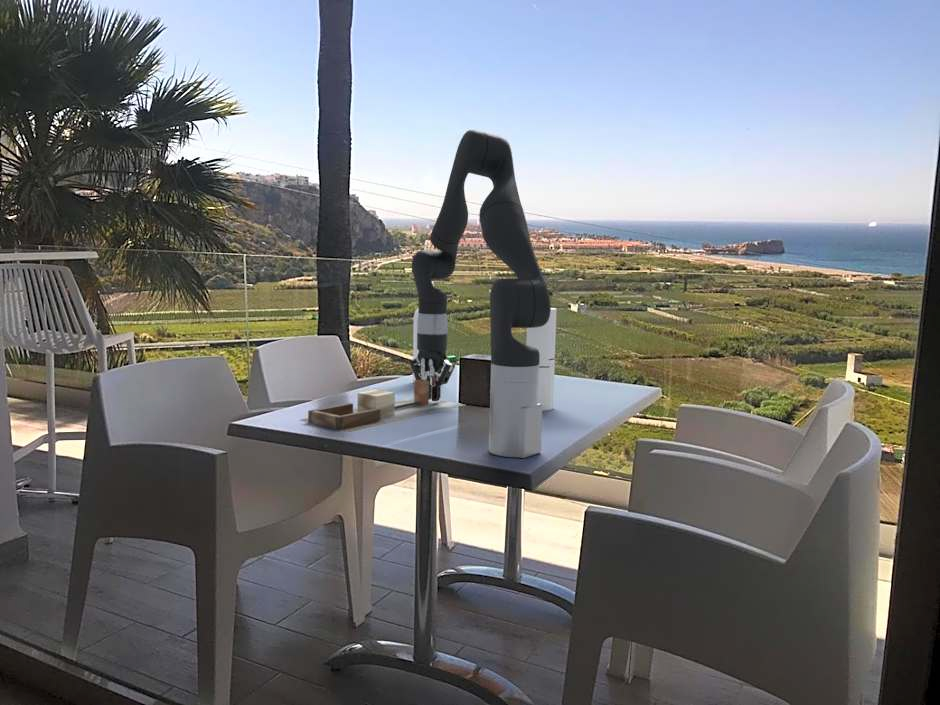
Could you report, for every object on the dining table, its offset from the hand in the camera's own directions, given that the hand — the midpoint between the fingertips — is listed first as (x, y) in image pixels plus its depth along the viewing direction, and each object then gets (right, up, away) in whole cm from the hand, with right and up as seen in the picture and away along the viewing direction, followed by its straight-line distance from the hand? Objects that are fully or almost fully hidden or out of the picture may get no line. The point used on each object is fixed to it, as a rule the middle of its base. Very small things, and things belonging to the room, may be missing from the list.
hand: (431, 399), depth 187 cm
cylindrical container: (+27, -2, 0) cm, 27 cm away
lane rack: (-10, -3, -12) cm, 16 cm away
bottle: (-3, +3, +34) cm, 34 cm away
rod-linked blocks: (-8, -2, -10) cm, 12 cm away
